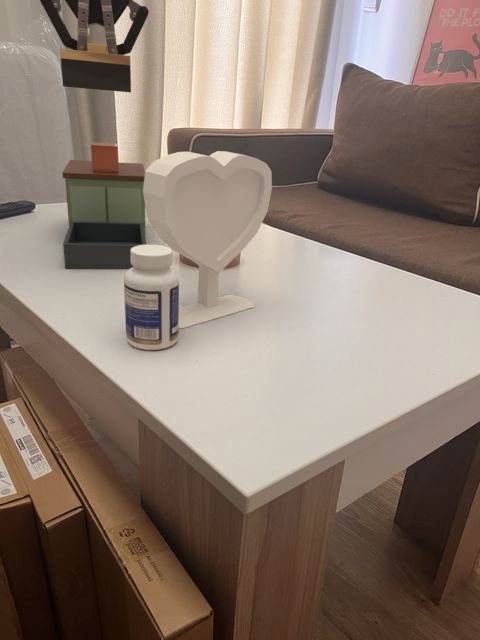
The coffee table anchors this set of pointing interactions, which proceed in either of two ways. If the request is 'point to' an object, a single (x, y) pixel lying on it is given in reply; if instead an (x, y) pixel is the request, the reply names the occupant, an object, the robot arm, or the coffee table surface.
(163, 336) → the pill bottle
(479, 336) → the coffee table surface
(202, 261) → the heart sculpture
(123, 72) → the brush
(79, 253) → the tray
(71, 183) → the cabinet
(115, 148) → the block
